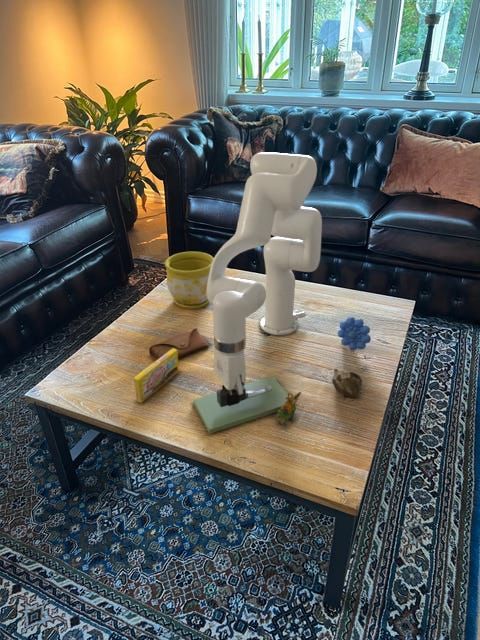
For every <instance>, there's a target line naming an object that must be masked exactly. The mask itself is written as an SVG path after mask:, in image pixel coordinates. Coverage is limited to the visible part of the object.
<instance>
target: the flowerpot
mask: <svg viewBox="0 0 480 640" xmlns="http://www.w3.org/2000/svg"><path fill="white" fill-rule="evenodd" d="M213 259H214V257H213V256H212V255H210V254H209V253H206V252H202V251H183V252H179V253H174V254H172V255H171V256H169V257H168V258H166V260H164V268H165V270H166V271H165V272H166V285H167V289H168V292H169V294H170V296H172V298H173V302H174V303H175V304H176V305H177V306H178V307H180V308H183V309H187V310H196V309H201V308H203V307H205V306H207V305H209V303H210V302H209V301H208V299H207V294H206V290H207V282H208V277H209V273H210V268H211V264H212V261H213Z"/></svg>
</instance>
